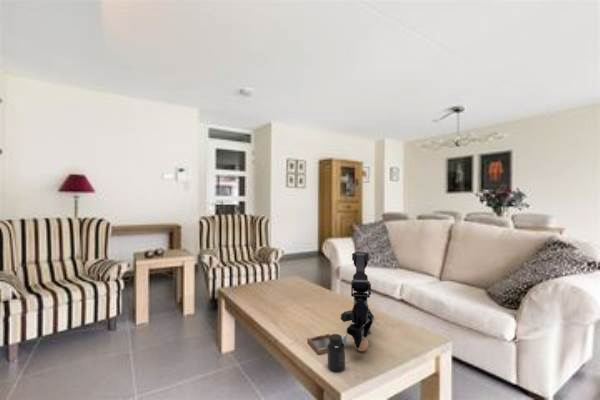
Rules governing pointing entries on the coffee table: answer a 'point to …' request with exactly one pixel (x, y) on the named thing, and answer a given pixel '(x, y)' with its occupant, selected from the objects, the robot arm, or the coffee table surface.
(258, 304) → the coffee table surface
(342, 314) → the robot arm
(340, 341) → the supplement bottle
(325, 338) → the walnut tray
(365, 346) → the ball
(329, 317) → the coffee table surface
